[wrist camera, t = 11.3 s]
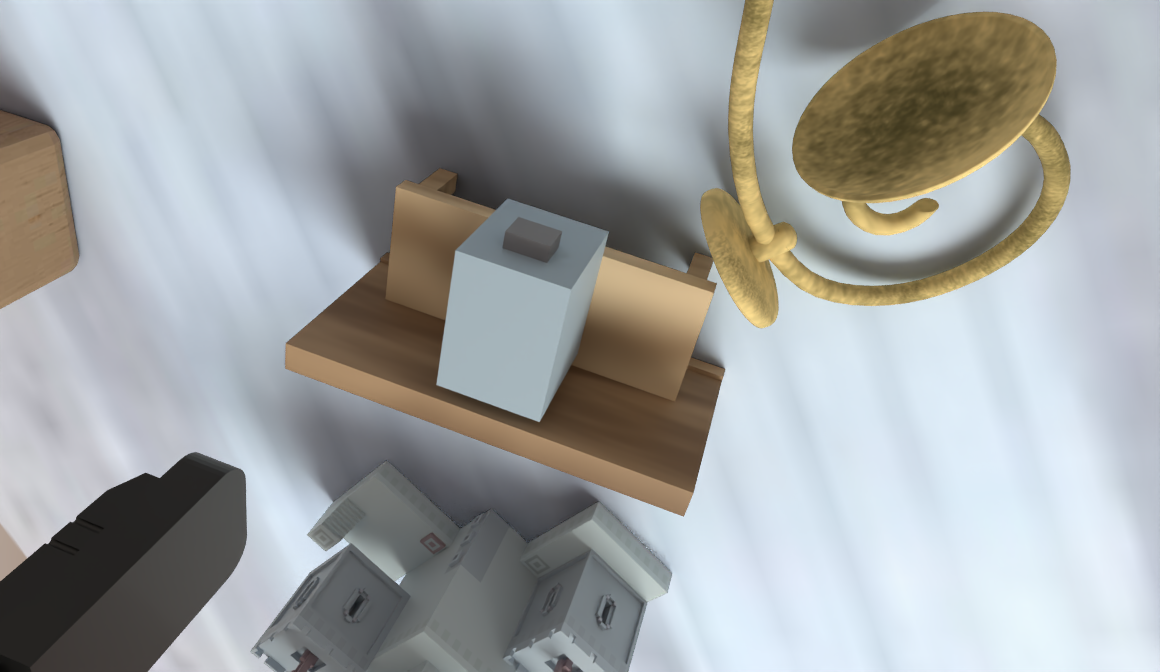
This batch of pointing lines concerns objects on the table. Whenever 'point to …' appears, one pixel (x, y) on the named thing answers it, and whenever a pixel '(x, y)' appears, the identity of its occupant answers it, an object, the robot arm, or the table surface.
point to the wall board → (589, 389)
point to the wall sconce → (889, 149)
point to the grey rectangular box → (519, 307)
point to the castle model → (462, 591)
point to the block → (32, 209)
